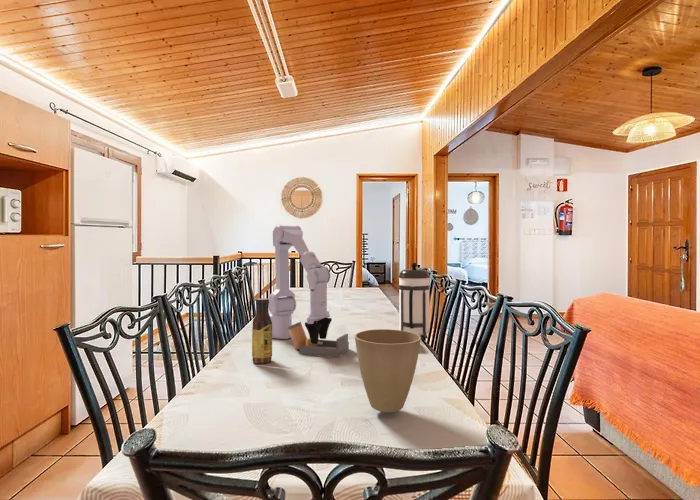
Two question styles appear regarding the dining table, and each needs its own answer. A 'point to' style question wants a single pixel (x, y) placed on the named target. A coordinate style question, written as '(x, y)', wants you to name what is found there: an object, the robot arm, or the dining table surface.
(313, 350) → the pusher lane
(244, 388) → the dining table surface
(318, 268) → the robot arm
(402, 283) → the coffee press
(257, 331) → the sauce bottle
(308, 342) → the tan pusher block
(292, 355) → the dining table surface
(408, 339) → the plant pot
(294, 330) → the jar
